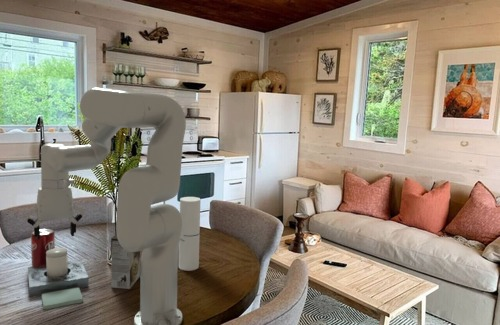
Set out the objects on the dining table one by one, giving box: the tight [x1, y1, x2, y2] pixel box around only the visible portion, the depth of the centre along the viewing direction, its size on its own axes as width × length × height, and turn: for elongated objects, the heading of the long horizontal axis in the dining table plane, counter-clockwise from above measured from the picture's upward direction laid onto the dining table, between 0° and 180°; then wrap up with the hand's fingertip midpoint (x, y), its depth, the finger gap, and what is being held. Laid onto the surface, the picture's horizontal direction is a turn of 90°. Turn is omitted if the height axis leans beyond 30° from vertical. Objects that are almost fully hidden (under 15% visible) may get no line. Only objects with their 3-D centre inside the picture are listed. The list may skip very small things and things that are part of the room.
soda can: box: [30, 228, 56, 267], centre depth 134 cm, size 7×7×12 cm
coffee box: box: [110, 233, 141, 290], centre depth 123 cm, size 9×6×16 cm
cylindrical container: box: [178, 196, 202, 272], centre depth 137 cm, size 7×7×25 cm
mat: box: [41, 287, 84, 310], centre depth 112 cm, size 8×10×1 cm
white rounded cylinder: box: [46, 247, 69, 277], centre depth 122 cm, size 6×6×10 cm
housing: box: [27, 259, 89, 298], centre depth 123 cm, size 16×16×3 cm
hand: (55, 236), depth 121 cm, fingers open, 9 cm apart
